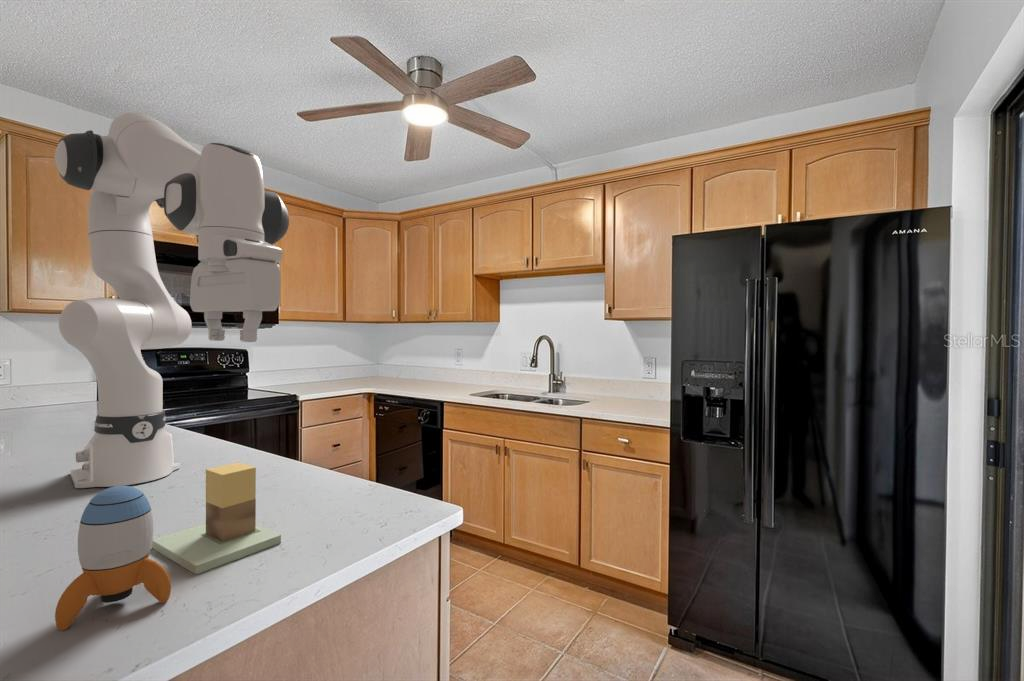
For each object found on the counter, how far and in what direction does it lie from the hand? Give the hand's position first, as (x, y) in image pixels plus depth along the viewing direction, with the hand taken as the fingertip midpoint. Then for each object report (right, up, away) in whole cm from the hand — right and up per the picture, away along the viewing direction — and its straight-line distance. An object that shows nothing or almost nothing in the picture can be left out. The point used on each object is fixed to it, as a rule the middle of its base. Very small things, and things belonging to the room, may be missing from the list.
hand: (232, 341), depth 75 cm
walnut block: (0, -30, +1) cm, 30 cm away
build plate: (-2, -31, -1) cm, 31 cm away
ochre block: (0, -25, 0) cm, 25 cm away
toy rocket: (-3, -32, -17) cm, 36 cm away
